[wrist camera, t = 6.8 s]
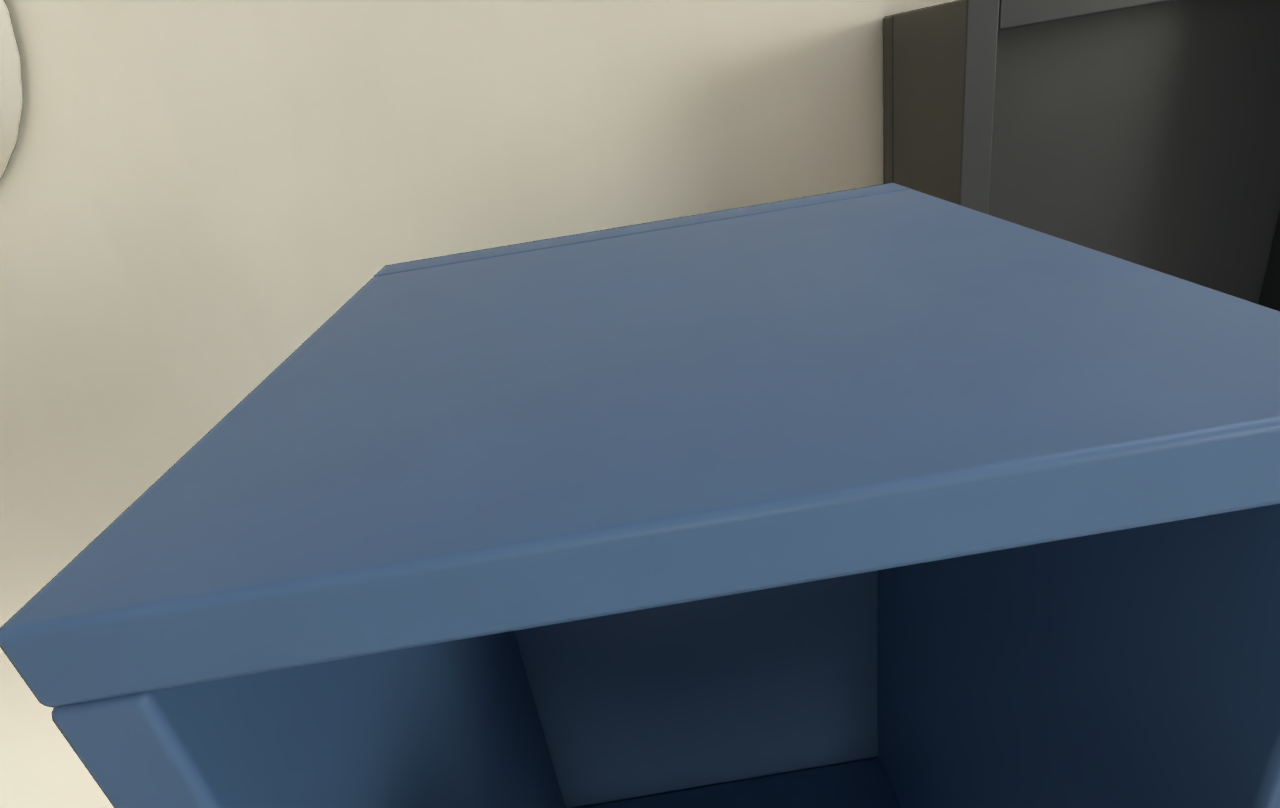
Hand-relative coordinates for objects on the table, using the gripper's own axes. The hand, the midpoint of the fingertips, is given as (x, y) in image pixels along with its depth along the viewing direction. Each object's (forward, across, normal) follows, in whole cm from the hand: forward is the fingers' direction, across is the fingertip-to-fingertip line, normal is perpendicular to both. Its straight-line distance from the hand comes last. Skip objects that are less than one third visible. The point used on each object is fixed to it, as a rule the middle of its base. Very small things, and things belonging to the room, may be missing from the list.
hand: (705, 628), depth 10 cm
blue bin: (+2, 0, 0) cm, 2 cm away
